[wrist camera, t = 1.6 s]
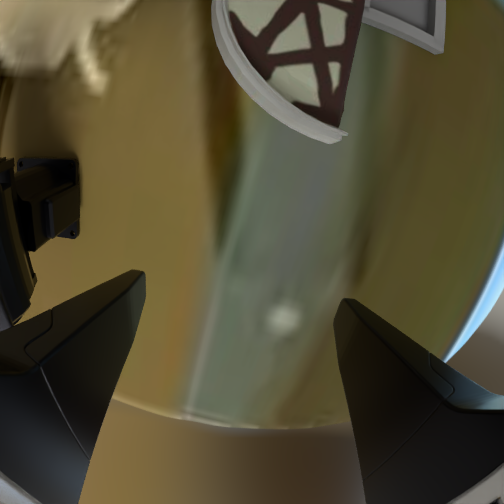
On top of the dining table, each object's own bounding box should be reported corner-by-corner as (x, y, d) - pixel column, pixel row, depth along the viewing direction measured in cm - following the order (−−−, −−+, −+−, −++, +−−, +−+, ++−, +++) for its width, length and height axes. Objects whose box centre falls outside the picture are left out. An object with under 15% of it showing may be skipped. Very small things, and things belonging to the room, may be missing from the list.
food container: (243, -34, 13) (243, -116, 4) (329, -16, 14) (381, -83, 5) (207, 117, 18) (173, 116, 9) (298, 133, 19) (345, 149, 10)
